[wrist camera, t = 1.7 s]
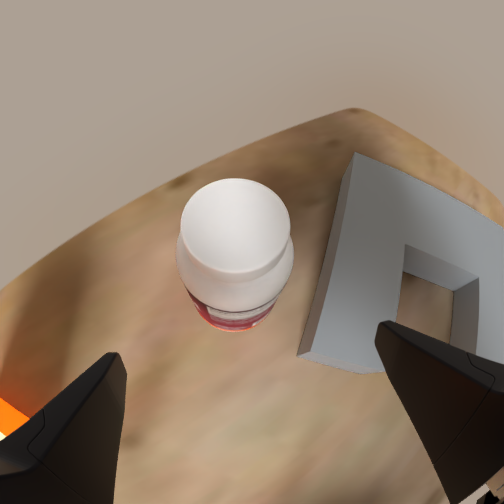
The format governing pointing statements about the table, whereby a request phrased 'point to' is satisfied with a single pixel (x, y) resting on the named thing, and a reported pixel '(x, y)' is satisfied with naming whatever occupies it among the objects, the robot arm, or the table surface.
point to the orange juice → (9, 419)
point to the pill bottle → (234, 252)
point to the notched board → (402, 267)
